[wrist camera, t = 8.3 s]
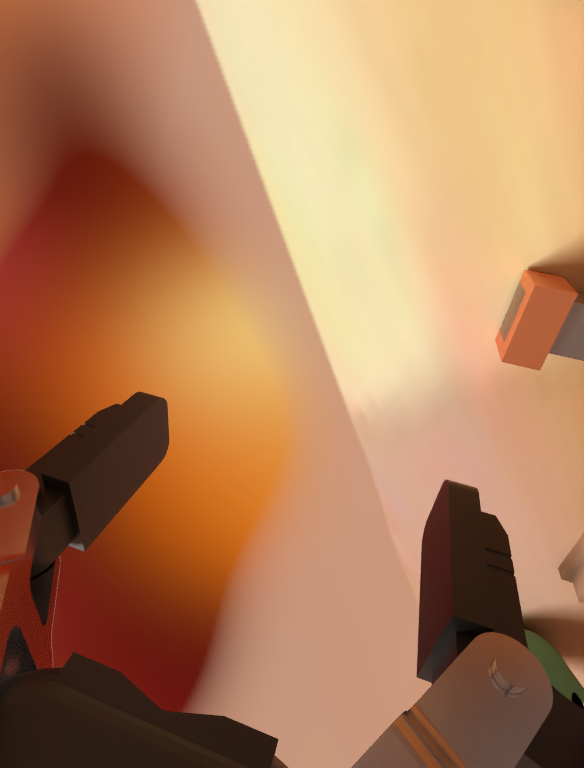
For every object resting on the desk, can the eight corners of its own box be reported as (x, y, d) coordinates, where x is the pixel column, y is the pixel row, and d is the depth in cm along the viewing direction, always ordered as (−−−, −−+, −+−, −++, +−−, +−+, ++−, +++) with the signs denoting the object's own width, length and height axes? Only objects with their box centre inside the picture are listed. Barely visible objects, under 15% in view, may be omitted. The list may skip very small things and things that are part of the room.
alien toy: (556, 669, 39) (588, 813, 31) (468, 643, 41) (475, 772, 32) (585, 626, 35) (630, 775, 27) (487, 599, 37) (501, 732, 29)
